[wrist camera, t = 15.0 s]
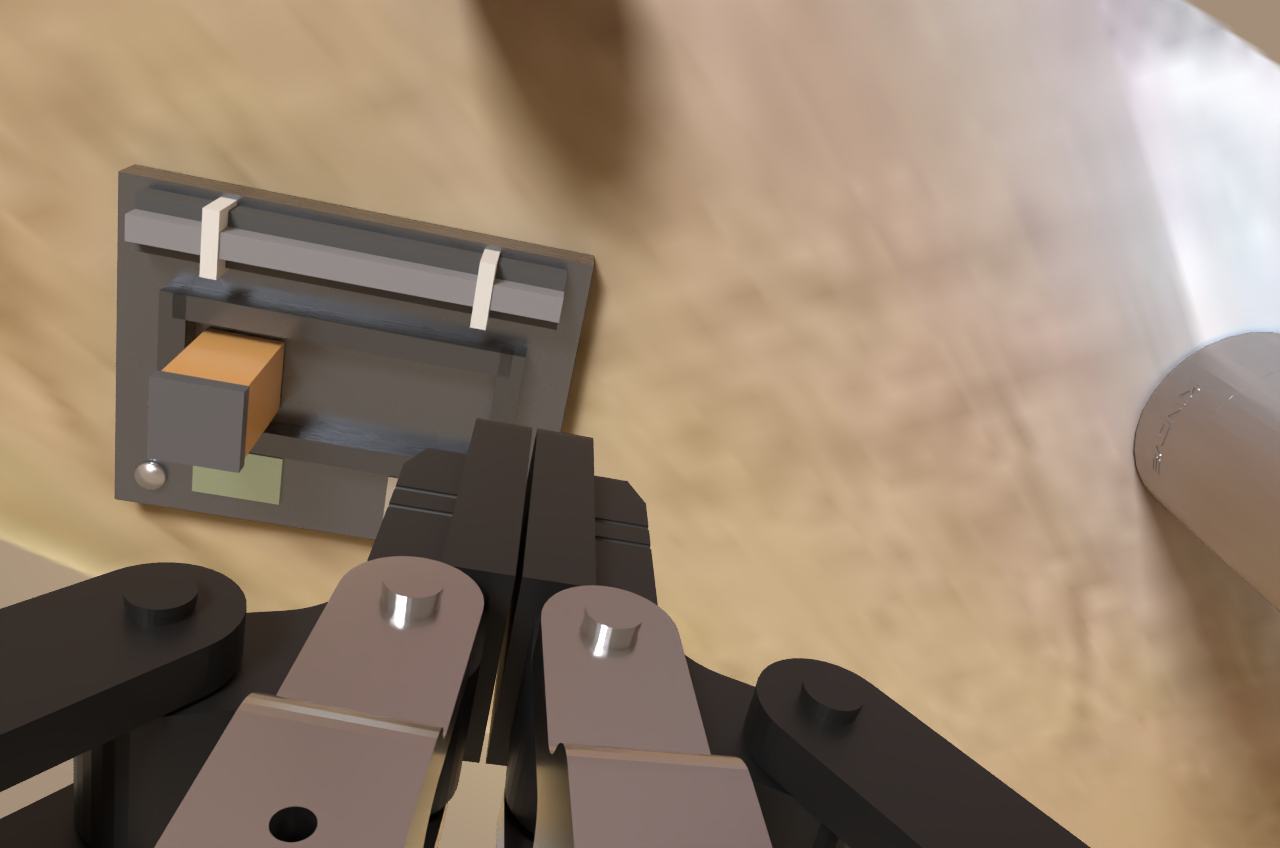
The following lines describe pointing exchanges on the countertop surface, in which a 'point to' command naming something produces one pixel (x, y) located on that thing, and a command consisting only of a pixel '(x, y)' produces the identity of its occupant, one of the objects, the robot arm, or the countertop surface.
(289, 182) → the countertop surface
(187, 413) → the lever
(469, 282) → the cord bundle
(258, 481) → the breaker panel
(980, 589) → the countertop surface
